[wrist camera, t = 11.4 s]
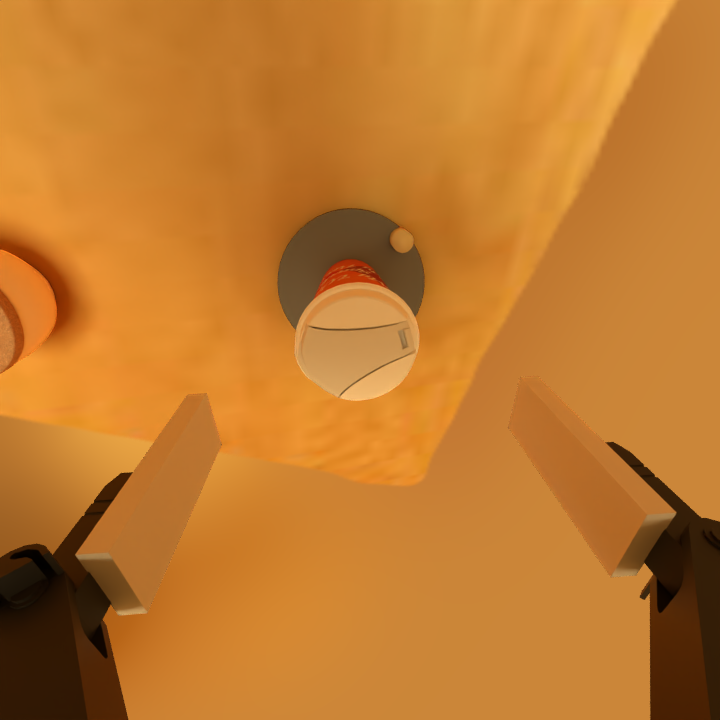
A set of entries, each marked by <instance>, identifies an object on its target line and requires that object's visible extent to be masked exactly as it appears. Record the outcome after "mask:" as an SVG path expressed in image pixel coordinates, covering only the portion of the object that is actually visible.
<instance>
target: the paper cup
mask: <svg viewBox="0 0 720 720" xmlns="http://www.w3.org/2000/svg"><path fill="white" fill-rule="evenodd" d="M418 348H419V329H418V324H417V321H416V318H415V316H414V314H413V312H412V311H411V309H410V308H409V306H408V305H407V304H406V303H405V301H404V300H403V299H401V298H400V297H399V296H398V295H397V294H395V293H394V292H392V291H390V289H389V288H388V287H387V286H386V284H385V283H384V282H383V280H382V279H381V278H380V276H379V275H378V274H377V273H376V272H375V270H374V269H373V268H372V267H370V266H369V265H368V264H366V263H365V262H363V261H360V260H356V259H346V260H342V261H339V262H337V263H335V264H334V265H333V266H331V267H330V268H329V269H328V271H327V272H326V273H325V275H324V277H323V279H322V281H321V283H320V285H319V288H318V290H317V292H316V295H315V297H314V299H313V301H312V302H311V303H310V304H309V305H308V306H307V307H306V309H305V310H304V312H303V314H302V315H301V317H300V319H299V322H298V325H297V328H296V334H295V357H296V360H297V363H298V365H299V367H300V368H301V370H302V372H303V373H304V374H305V375H306V377H307V378H309V379H310V380H312V381H313V382H314V383H316V384H317V385H318V386H320V387H321V388H322V389H324V390H325V391H327V392H329V393H330V394H332V395H334V396H336V397H338V398H341V399H346V400H356V401H359V400H368V399H373V398H376V397H379V396H382V395H384V394H386V393H388V392H390V391H391V390H392V389H394V388H395V387H397V386H398V385H399V384H400V383H401V382H402V381H403V380H404V378H405V377H406V376H407V374H408V373H409V371H410V369H411V367H412V365H413V362H414V361H415V358H416V355H417V353H418Z"/></svg>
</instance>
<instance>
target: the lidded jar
mask: <svg viewBox="0 0 720 720" xmlns="http://www.w3.org/2000/svg"><path fill="white" fill-rule="evenodd" d="M56 318H57V305H56V301H55V295H54V291H53V289H52V287H51V285H50V284H49V282H48V281H47V279H46V278H45V277H44V276H43V275H42V274H41V273H40V272H39V271H38V270H37V269H35V268H34V267H32V266H31V265H29V264H28V263H26V262H25V261H23V260H22V259H20V258H19V257H17V256H15V255H13V254H11V253H9V252H7V251H4V250H2V249H0V374H1V373H2V372H4V371H6V370H7V369H9V368H10V367H12V366H13V365H14V364H15V363H17V362H18V361H20V360H22V359H23V358H25V357H27V356H28V355H30V354H31V353H32V352H34V351H35V350H36V349H37V348H38V347H39V346H40V345H41V344H42V343H43V342H44V341H45V340H46V339H47V338H48V337H49V335H50V333H51V332H52V330H53V328H54V326H55V323H56Z"/></svg>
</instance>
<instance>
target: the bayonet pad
mask: <svg viewBox="0 0 720 720" xmlns="http://www.w3.org/2000/svg"><path fill="white" fill-rule="evenodd" d="M413 243H414V239H413V236H412V234H411V233H410V232H408V231H407V230H405V229H404V228H402V227H399V226H398V225H396V224H395V223H393V222H392V221H390V220H389V219H387V218H385V217H383V216H381V215H379V214H377V213H374V212H371V211H367V210H361V209H340V210H335V211H331V212H328V213H325V214H323V215H320V216H318V217H316V218H315V219H313V220H311V221H310V222H309V223H307V224H306V225H305V226H304V227H302V228H301V229H300V230H299V231H298V232H297V234H296V235H295V236H294V237H293V238H292V240H291V241H290V243H289V244H288V246H287V248H286V250H285V252H284V254H283V256H282V259H281V262H280V266H279V271H278V293H279V298H280V302H281V305H282V308H283V311H284V313H285V315H286V317H287V319H288V320H289V321H290V323H291V324H292V326H293V327H294V328H295V329H296V328H297V325H298V322H299V319H300V317H301V315H302V314H303V312H304V310H305V309H306V307H307V306H308V305H309V304H310V303H311V302H312V301H313V299H314V297H315V295H316V292H317V290H318V288H319V285H320V283H321V281H322V279H323V277H324V275H325V273H326V272H327V271H328V269H329V268H330V267H331V266H333V265H334V264H335V263H337V262H339V261H342V260H346V259H356V260H360V261H363V262H365V263H366V264H368V265H369V266H370V267H372V268H373V269H374V270H375V272H376V273H377V274H378V275H379V276H380V278H381V279H382V280H383V282H384V283H385V284H386V286H387V287H388V288H389V289H390V291H392V292H394V293H395V294H397V295H398V296H399V297H400V298H401V299H403V300H404V301H405V303H406V304H407V305H408V306H409V308H410V309H411V311H412V312H413V314H414V316H416V314H417V313H418V310H419V308H420V305H421V302H422V298H423V293H424V271H423V265H422V262H421V258H420V256H419V253H418V251H417V249H416V247H415V245H414V244H413Z"/></svg>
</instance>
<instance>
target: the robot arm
mask: <svg viewBox="0 0 720 720" xmlns="http://www.w3.org/2000/svg"><path fill="white" fill-rule="evenodd" d="M508 428H509V430H510V431H511V433H512V434H513V436H514V437H515V439H516V440H517V442H518V443H519V444H520V446H521V447H522V448H523V450H524V452H525V453H526V455H527V456H528V458H529V459H530V460H531V462H532V463H533V465H534V466H535V468H536V469H537V471H538V472H539V474H540V475H541V476H542V478H543V479H544V481H545V482H546V484H547V485H548V487H549V488H550V490H551V491H552V492H553V494H554V495H555V497H556V498H557V500H558V501H559V503H560V504H561V506H562V507H563V509H564V510H565V512H566V513H567V514H568V516H569V517H570V519H571V520H572V522H573V523H574V525H575V526H576V528H577V529H578V531H579V532H580V533H581V534H582V536H583V538H584V539H585V541H586V542H587V544H588V545H589V547H590V548H591V549H592V551H593V552H594V554H595V555H596V556H597V558H598V559H599V561H600V563H601V564H602V565H603V567H604V568H605V570H606V571H607V573H608V574H609V576H610V577H621V576H633V575H636V574H637V573H638V571H639V570H640V568H641V567H642V565H643V564H644V563H645V564H646V565H647V566H648V568H649V569H650V570H651V571H652V572H653V576H652V577H651V579H650V580H649V582H648V583H647V584H646V586H645V588H644V589H643V590H642V592H641V595H640V598H642V599H644V600H645V598H646V597H647V596H648V594H649V593H650V707H651V708H650V711H651V714H650V716H651V717H650V718H651V719H650V720H720V522H718V521H715V520H711V519H708V518H701V517H700V516H699V515H697V514H696V513H695V512H694V511H693V510H692V509H691V508H690V507H689V506H688V505H687V504H686V503H685V502H683V501H682V500H681V499H680V498H679V497H678V496H677V495H676V494H675V493H674V492H673V491H672V490H671V489H669V488H668V487H667V486H666V485H665V484H664V483H663V482H662V481H661V480H660V479H659V478H657V477H655V475H654V474H653V473H652V472H651V471H650V470H649V469H648V468H647V467H644V465H643V463H641V462H640V461H639V460H638V459H637V458H636V457H635V456H634V455H633V454H632V453H631V452H629V451H628V450H626V449H624V448H623V447H621V446H619V445H618V444H616V443H614V442H607V443H606V442H604V441H603V440H602V439H601V438H600V437H599V436H598V435H597V434H596V433H595V432H594V431H593V430H592V429H591V428H590V427H589V426H588V425H587V424H586V423H585V422H584V421H583V420H582V419H581V418H580V417H579V416H578V415H577V414H576V413H575V412H574V411H573V410H572V409H571V408H570V407H569V406H568V405H567V404H566V403H565V402H564V401H563V400H562V399H560V398H559V397H558V396H557V395H556V394H555V393H554V392H553V391H552V390H551V389H550V388H549V387H548V386H547V385H546V384H545V383H544V382H543V381H542V380H541V379H540V378H539V377H538V376H528V377H520V379H519V384H518V388H517V392H516V396H515V400H514V405H513V409H512V413H511V417H510V421H509V425H508ZM221 445H222V444H221V440H220V437H219V434H218V430H217V427H216V423H215V420H214V417H213V413H212V410H211V407H210V403H209V400H208V396H207V394H189V395H187V396H186V398H185V399H184V401H183V402H182V403H181V405H180V406H179V408H178V409H177V410H176V412H175V413H174V415H173V416H172V418H171V419H170V420H169V422H168V423H167V425H166V426H165V428H164V429H163V430H162V432H161V433H160V435H159V436H158V438H157V439H156V440H155V442H154V443H153V445H152V446H151V447H150V449H149V450H148V452H147V453H146V455H145V456H144V457H143V459H142V460H141V462H140V463H139V465H138V466H137V467H136V469H135V470H134V472H131V473H121V474H119V475H118V476H117V477H116V478H115V479H113V480H112V481H111V482H110V483H108V484H107V485H106V486H105V487H104V488H103V490H102V491H101V492H100V494H99V495H98V496H97V497H96V499H95V500H94V503H93V504H91V505H90V507H89V508H88V509H87V511H86V512H85V515H84V516H82V517H81V518H80V520H79V521H78V522H77V524H76V525H75V526H74V528H73V529H72V530H71V532H70V533H69V534H68V536H67V537H66V538H65V539H64V541H63V542H62V544H61V545H60V546H59V548H58V549H57V550H56V551H55V553H54V554H53V555H52V554H51V553H50V551H49V550H48V549H47V547H46V546H44V545H40V544H32V545H26V546H23V547H20V548H18V549H15V550H13V551H10V552H9V553H7V554H6V555H4V556H2V557H1V558H0V720H128V716H127V712H126V708H125V704H124V700H123V695H122V691H121V687H120V682H119V678H118V674H117V669H116V665H115V661H114V657H113V652H112V648H111V643H110V639H109V635H108V630H107V626H106V624H105V623H104V621H103V617H104V616H105V613H106V612H107V610H108V608H109V606H110V604H111V605H112V607H113V608H114V609H115V611H116V612H117V614H118V615H129V614H141V613H148V610H149V608H150V606H151V604H152V601H153V599H154V597H155V594H156V592H157V590H158V588H159V585H160V583H161V581H162V579H163V576H164V574H165V572H166V570H167V567H168V565H169V563H170V560H171V558H172V556H173V554H174V551H175V549H176V547H177V544H178V542H179V540H180V538H181V536H182V533H183V531H184V529H185V527H186V524H187V522H188V520H189V517H190V515H191V513H192V511H193V508H194V506H195V504H196V502H197V499H198V497H199V495H200V492H201V490H202V488H203V486H204V483H205V481H206V479H207V477H208V474H209V472H210V470H211V467H212V465H213V463H214V461H215V458H216V456H217V454H218V452H219V449H220V447H221Z"/></svg>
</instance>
